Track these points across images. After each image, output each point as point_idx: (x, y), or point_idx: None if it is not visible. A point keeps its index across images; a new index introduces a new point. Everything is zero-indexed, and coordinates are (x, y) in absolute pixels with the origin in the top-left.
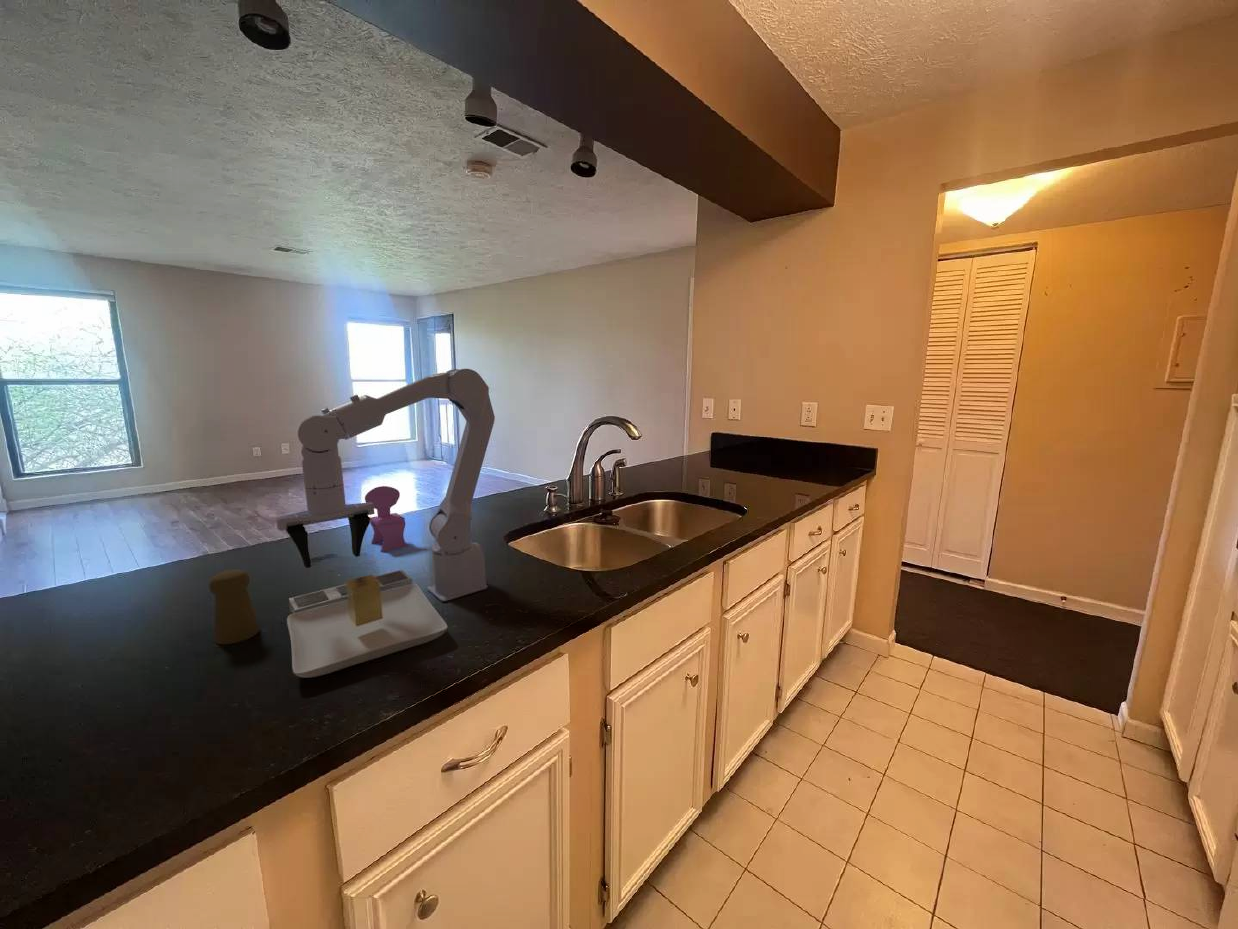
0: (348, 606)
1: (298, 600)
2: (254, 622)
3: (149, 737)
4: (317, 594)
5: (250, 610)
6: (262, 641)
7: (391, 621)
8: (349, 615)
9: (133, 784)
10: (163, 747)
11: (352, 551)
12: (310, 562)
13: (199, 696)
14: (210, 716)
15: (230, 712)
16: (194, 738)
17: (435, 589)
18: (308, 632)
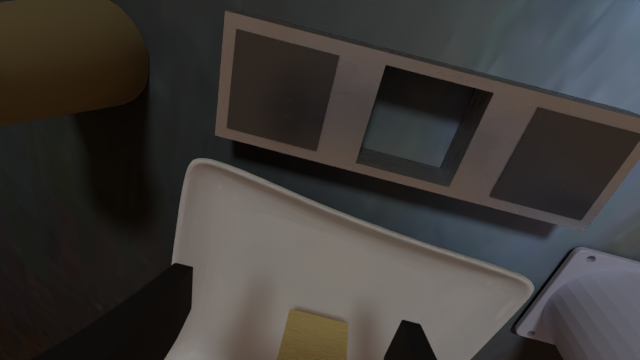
0: (282, 337)
1: (243, 71)
2: (116, 97)
3: (10, 287)
4: (308, 77)
5: (79, 103)
6: (147, 150)
7: (372, 315)
8: (288, 315)
9: (18, 343)
10: (30, 315)
11: (404, 329)
12: (177, 335)
13: (51, 250)
14: (72, 305)
15: (94, 316)
16: (60, 327)
17: (557, 300)
18: (227, 223)
